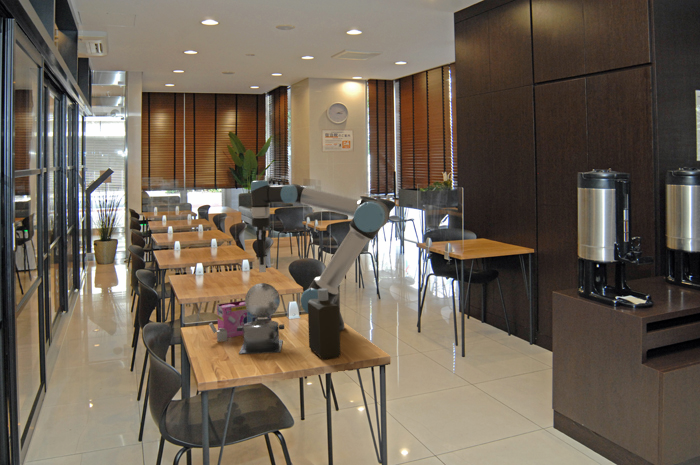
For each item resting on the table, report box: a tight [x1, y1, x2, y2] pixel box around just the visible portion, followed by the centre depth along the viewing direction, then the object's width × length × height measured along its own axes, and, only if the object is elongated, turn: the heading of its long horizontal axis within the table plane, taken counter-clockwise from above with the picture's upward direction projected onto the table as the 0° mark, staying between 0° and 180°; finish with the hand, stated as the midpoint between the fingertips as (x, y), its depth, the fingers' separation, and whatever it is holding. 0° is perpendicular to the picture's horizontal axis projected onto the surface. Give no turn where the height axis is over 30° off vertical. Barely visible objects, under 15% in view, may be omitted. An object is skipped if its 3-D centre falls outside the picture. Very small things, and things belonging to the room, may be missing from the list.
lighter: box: [208, 322, 228, 342], centre depth 233 cm, size 7×2×8 cm, turn 104°
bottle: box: [307, 288, 341, 361], centre depth 213 cm, size 8×16×25 cm, turn 22°
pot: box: [237, 318, 285, 355], centre depth 224 cm, size 19×18×9 cm
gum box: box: [216, 299, 273, 339], centre depth 246 cm, size 24×8×14 cm, turn 123°
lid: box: [244, 282, 281, 319], centre depth 232 cm, size 14×15×3 cm
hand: (262, 271), depth 238 cm, fingers closed
